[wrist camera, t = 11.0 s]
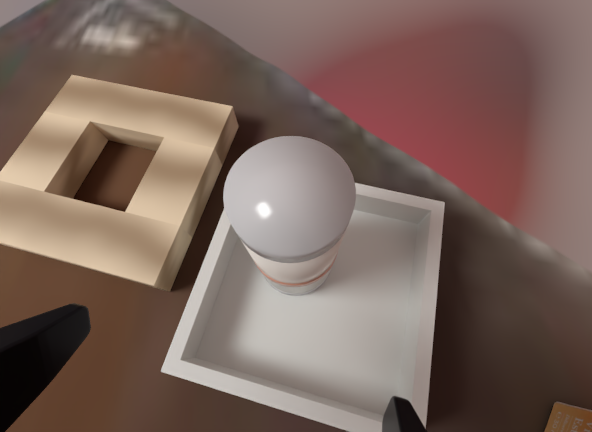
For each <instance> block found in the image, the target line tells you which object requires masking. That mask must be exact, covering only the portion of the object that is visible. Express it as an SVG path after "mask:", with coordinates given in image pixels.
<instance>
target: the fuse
mask: <svg viewBox="0 0 592 432" xmlns="http://www.w3.org/2000/svg"><path fill="white" fill-rule="evenodd" d="M223 201H224V208H225V212H226V215H227V217H228V220H229V222H230V223H231V225H232V227H233V228H234V230H235V231H236V233H237V235H238V236H239V238H240V239H241V241H242V242H243V244H244V246H245V247H246V249H247V250H248V252H249V254H250V255H251V257H252V258H253V260H254V262H255V264H256V265H257V267H258V269H259V270H260V271H261V273H262V274H263V276H264V277H265V279H266V281H267V282H268V283H269V284H270V285H271V286H272V287H273V288H274V289H275V290H277V291H279V292H281V293H283V294H286V295H290V296H302V295H306V294H309V293H311V292H313V291H315V290H317V289H318V288H319V287H320V286H321V285H322V284H323V283H324V282H325V281H326V279H327V278H328V276H329V273H330V271H331V268H332V266H333V263H334V261H335V259H336V256H337V253H338V250H339V247H340V245H341V242H342V240H343V237H344V234H345V232H346V229H347V227H348V224H349V221H350V219H351V216H352V214H353V210H354V207H355V201H356V187H355V182H354V178H353V175H352V173H351V171H350V169H349V167H348V165H347V164H346V162H345V161H344V160H343V159H342V158H341V156H340V155H339V154H338V153H336V152H335V151H334V150H333V149H331V148H330V147H328V146H327V145H325V144H323V143H321V142H319V141H316V140H313V139H310V138H306V137H299V136H282V137H276V138H272V139H269V140H266V141H263V142H261V143H259V144H257V145H255V146H253V147H252V148H250V149H249V150H247V151H246V152H245V153H244V154H243V155H242V156H240V157H239V159H238V160H237V161H236V162H235V163H234V165H233V166H232V168H231V170H230V172H229V174H228V176H227V179H226V182H225V186H224V192H223Z"/></svg>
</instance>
